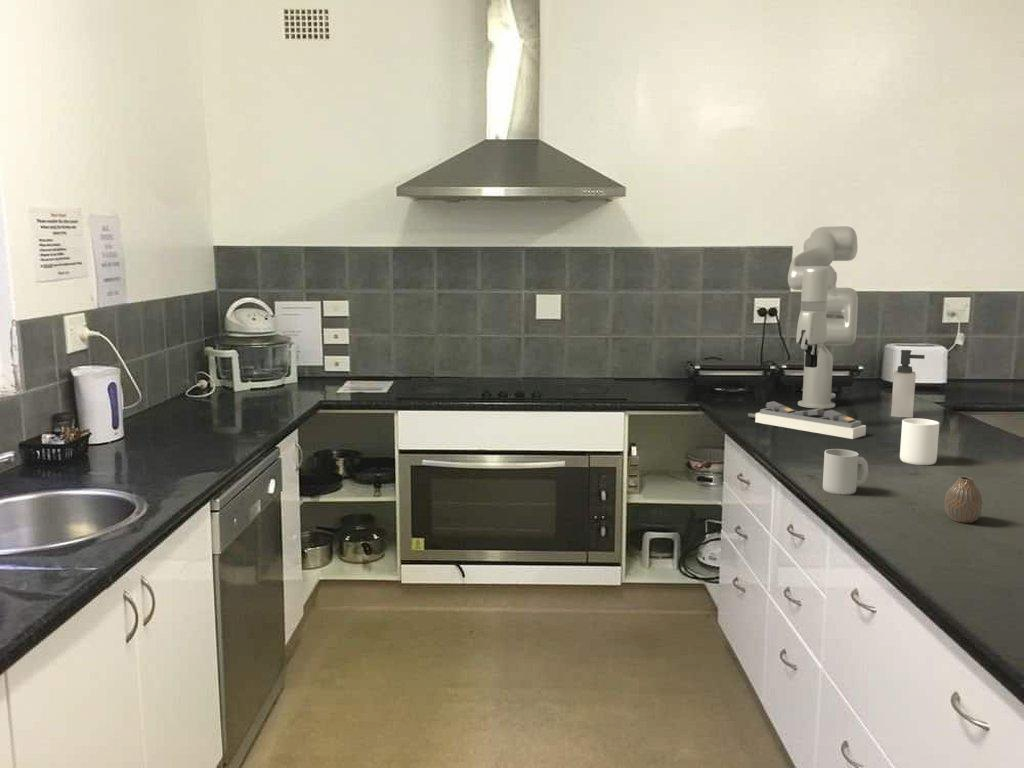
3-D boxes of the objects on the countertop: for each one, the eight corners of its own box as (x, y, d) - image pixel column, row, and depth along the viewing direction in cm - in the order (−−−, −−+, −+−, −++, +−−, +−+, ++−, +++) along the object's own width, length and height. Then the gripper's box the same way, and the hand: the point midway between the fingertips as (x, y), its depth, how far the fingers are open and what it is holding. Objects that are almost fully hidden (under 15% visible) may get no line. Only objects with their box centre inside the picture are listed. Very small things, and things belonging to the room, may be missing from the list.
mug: (924, 454, 215) (927, 416, 213) (941, 466, 203) (944, 425, 201) (890, 454, 216) (893, 415, 214) (906, 465, 204) (908, 424, 202)
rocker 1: (772, 405, 260) (773, 400, 259) (793, 414, 254) (795, 409, 254) (765, 407, 258) (766, 402, 257) (786, 416, 252) (788, 411, 251)
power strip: (755, 416, 268) (755, 404, 267) (865, 435, 239) (866, 421, 238) (742, 419, 263) (742, 407, 262) (852, 439, 234) (853, 424, 233)
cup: (817, 486, 186) (819, 449, 185) (860, 485, 186) (862, 448, 185) (829, 495, 179) (831, 456, 178) (874, 494, 179) (876, 456, 178)
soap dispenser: (920, 418, 263) (925, 352, 260) (891, 416, 267) (895, 351, 263) (919, 414, 269) (924, 350, 265) (891, 412, 272) (895, 349, 269)
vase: (945, 523, 160) (949, 481, 158) (940, 513, 166) (944, 472, 165) (985, 527, 157) (988, 484, 156) (978, 516, 164) (982, 475, 162)
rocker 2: (801, 416, 252) (800, 410, 252) (824, 413, 246) (823, 407, 246) (794, 417, 250) (793, 412, 250) (817, 415, 244) (816, 409, 244)
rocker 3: (830, 414, 245) (831, 409, 244) (853, 424, 239) (855, 418, 239) (823, 416, 242) (824, 410, 242) (847, 426, 237) (848, 420, 236)
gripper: (815, 306, 251) (812, 364, 253) (789, 308, 241) (786, 368, 244) (838, 307, 245) (834, 366, 248) (811, 309, 236) (808, 370, 238)
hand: (810, 366), depth 246 cm, fingers closed
